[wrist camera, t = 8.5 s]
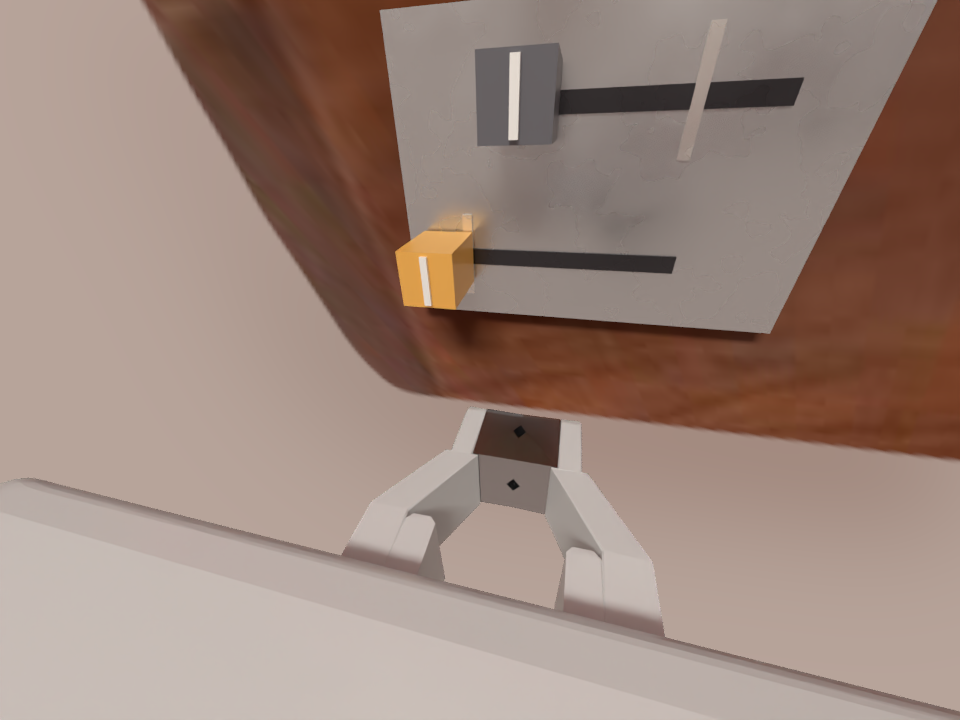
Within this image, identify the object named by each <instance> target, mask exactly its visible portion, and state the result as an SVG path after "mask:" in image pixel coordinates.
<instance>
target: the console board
mask: <svg viewBox="0 0 960 720" xmlns="http://www.w3.org/2000/svg"><path fill="white" fill-rule="evenodd" d="M936 2H937V0H471V1H461V2H452V3H443V4H434V5H424V6H415V7H406V8H397V9H387V10H380V15H381V22H382V30H383V37H384V44H385V52H386V59H387V66H388V74H389V81H390V89H391V96H392V103H393V111H394V118H395V126H396V133H397V140H398V148H399V155H400V162H401V170H402V177H403V185H404V192H405V199H406V207H407V214H408V221H409V229H410V236H411V240H412V239H414V238H415V237H417V236H418V235H419V234H421V233H422V232H424V231H446V232H472V234H473V260H474V282H473V284H472V285H471V287H470V288H469V290H468V291H467V293H466V295H465V296H464V298H463V299H462V301H461V302H460V304H459V305H458V307H457V308H456V310H469V311H482V312H495V313H508V314H521V315H534V316H547V317H560V318H573V319H586V320H599V321H612V322H625V323H638V324H651V325H664V326H677V327H690V328H704V329H717V330H730V331H743V332H756V333H769V334H770V332H771V330H772V328H773V326H774V324H775V322H776V320H777V318H778V316H779V314H780V312H781V310H782V308H783V306H784V304H785V302H786V300H787V298H788V296H789V294H790V292H791V290H792V288H793V286H794V284H795V282H796V280H797V278H798V276H799V274H800V272H801V270H802V268H803V266H804V264H805V262H806V260H807V258H808V256H809V254H810V252H811V250H812V248H813V246H814V244H815V242H816V240H817V238H818V236H819V234H820V232H821V230H822V228H823V226H824V224H825V223H826V221H827V219H828V217H829V215H830V213H831V211H832V209H833V207H834V205H835V203H836V201H837V199H838V197H839V195H840V193H841V191H842V189H843V187H844V185H845V183H846V181H847V179H848V177H849V175H850V173H851V171H852V169H853V167H854V165H855V163H856V161H857V159H858V157H859V155H860V153H861V151H862V149H863V147H864V145H865V143H866V141H867V139H868V137H869V135H870V133H871V131H872V129H873V127H874V125H875V123H876V121H877V119H878V117H879V115H880V113H881V111H882V109H883V107H884V105H885V103H886V101H887V99H888V97H889V95H890V93H891V91H892V89H893V87H894V85H895V83H896V81H897V79H898V77H899V75H900V73H901V71H902V69H903V67H904V65H905V64H906V62H907V60H908V58H909V56H910V54H911V52H912V50H913V48H914V46H915V44H916V42H917V40H918V38H919V36H920V34H921V32H922V30H923V28H924V26H925V24H926V22H927V20H928V18H929V16H930V14H931V12H932V10H933V8H934V6H935V4H936ZM547 43H559V44H560V49H561V54H562V58H563V66H562V78H561V91H560V103H559V115H558V128H557V140H556V141H555V142H554V143H553V144H552V145H510V146H477V114H476V77H475V49H484V48H497V47H509V46H522V45H535V44H547Z"/></svg>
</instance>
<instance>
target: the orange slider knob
mask: <svg viewBox="0 0 960 720" xmlns="http://www.w3.org/2000/svg"><path fill="white" fill-rule="evenodd" d="M395 253H396V259H397V265H398V271H399V277H400V284H401V290H402V296H403V302H404V306H415V307H428V308H441V309H454V310H456V308H457V307H458V305H459V304H460V302H461V301H462V299H463V298H464V296H465V295H466V293H467V291H468V290H469V288H470V287H471V285H472V284H473V282H474V260H473V234H472V232H446V231H424V232H422V233H421V234H419V235H418V236H417V237H415V238H414V239H412V240H411V241H410V242H408V243H407V244H405V245H404V246H402V247H401V248H400V249H398V250H397V251H395Z"/></svg>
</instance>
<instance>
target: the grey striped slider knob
mask: <svg viewBox="0 0 960 720" xmlns="http://www.w3.org/2000/svg"><path fill="white" fill-rule="evenodd" d="M562 66H563V58H562V54H561V49H560V44H559V43H547V44H535V45H522V46H509V47H497V48H484V49H475V77H476V114H477V146H510V145H552V144H553V143H554V142H555V141H556V140H557V128H558V115H559V103H560V91H561V78H562Z"/></svg>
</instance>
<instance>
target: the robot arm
mask: <svg viewBox="0 0 960 720" xmlns="http://www.w3.org/2000/svg"><path fill="white" fill-rule="evenodd" d="M480 502H486V503H492V504H498V505H504V506H510V507H515V508H519V509H524V510H528V511H532V512H537V513H541V514H545V517H546V519H547V522H548V523H549V526H550V528H551V530H552V533H553V535H554V537H555V539H556V541H557V544H558V546H559V548H560V550H561V552H562V555H563V557H564V559H565V560H564V565H563V569H562V574H561V579H560V583H559V588H558V593H557V597H556V602H555V609H551V608H547V607H543V606H539V605H535V604H531V603H527V602H523V601H519V600H515V599H511V598H507V597H503V596H499V595H495V594H491V593H488V592H484V591H480V590H476V589H472V588H468V587H464V586H460V585H456V584H452V583H448V582H444V579H445V575H444V570H443V565H442V558H441V553H440V547H439V546H440V545H441V544H442V543H443V542H444V541H445V540H446V539H447V538H448V537H449V536H450V535H451V533H452V532H453V531H454V530H455V529H456V528H457V527H458V526H459V525H460V524H461V523H462V522H463V521H464V520H465V519H466V518H467V517H468V516H469V515H470V514H471V513H472V512H473V511H474V510H475V509H476V508H477V507H478V506H479V504H480ZM0 720H960V712H959V711H955V710H951V709H947V708H943V707H939V706H935V705H931V704H928V703H923V702H920V701H915V700H911V699H908V698H904V697H900V696H896V695H892V694H887V693H884V692H880V691H876V690H872V689H868V688H864V687H860V686H855V685H852V684H848V683H844V682H840V681H836V680H832V679H828V678H824V677H820V676H816V675H812V674H808V673H804V672H800V671H796V670H792V669H788V668H784V667H780V666H777V665H773V664H769V663H764V662H760V661H756V660H753V659H749V658H745V657H741V656H737V655H732V654H729V653H725V652H721V651H717V650H713V649H708V648H705V647H701V646H697V645H693V644H689V643H685V642H681V641H677V640H674V639H670V638H666V637H665V635H664V629H663V622H662V616H661V610H660V604H659V598H658V592H657V586H656V579H655V573H654V567H653V562H652V561H651V559H650V558H649V557H648V555H647V554H646V552H645V551H644V550H643V548H642V547H641V546H640V544H639V543H638V542H637V540H636V539H635V537H634V536H633V535H632V533H631V532H630V531H629V529H628V528H627V527H626V525H625V524H624V522H623V521H622V520H621V518H620V517H619V515H618V514H617V513H616V512H615V510H614V509H613V507H612V506H611V504H610V503H609V502H608V500H607V499H606V497H605V496H604V495H603V493H602V492H601V491H600V489H599V488H598V487H597V485H596V484H595V482H594V481H593V480H592V478H591V477H590V476H589V474H587V473H582V424H581V422H578V421H570V420H560V419H553V418H546V417H537V416H530V415H522V414H515V413H509V412H503V411H497V410H491V409H482V408H477V407H469V409H468V410H467V411H466V414H465V417H464V419H463V422H462V424H461V427H460V429H459V432H458V434H457V437H456V440H455V442H454V445H453V447H452V449H451V450H445V451H443V452H442V453H440V454H439V455H437V456H436V457H434V458H433V459H432V460H430V461H429V462H427V463H426V464H424V465H423V466H422V467H420V468H419V469H417V470H416V471H414V472H413V473H412V474H410V475H409V476H407V477H406V478H404V479H403V480H402V481H400V482H399V483H397V484H396V485H394V486H393V487H392V488H390V489H389V490H387V491H386V492H384V493H383V494H381V495H380V496H379V497H377V498H376V499H374V500H373V501H372V502H371V503H370V505H369V506H368V508H367V510H366V512H365V513H364V515H363V517H362V519H361V521H360V522H359V524H358V526H357V528H356V530H355V531H354V533H353V535H352V537H351V539H350V540H349V542H348V544H347V546H346V547H345V550H344V551H343V553H342V555H337V554H332V553H329V552H325V551H321V550H317V549H313V548H309V547H305V546H301V545H296V544H293V543H289V542H285V541H280V540H277V539H273V538H269V537H265V536H261V535H257V534H253V533H249V532H245V531H241V530H237V529H233V528H229V527H225V526H222V525H217V524H214V523H209V522H205V521H201V520H198V519H194V518H190V517H185V516H182V515H178V514H174V513H170V512H166V511H162V510H158V509H154V508H150V507H146V506H142V505H138V504H134V503H130V502H126V501H122V500H118V499H114V498H110V497H106V496H102V495H98V494H95V493H91V492H87V491H83V490H79V489H75V488H71V487H66V486H63V485H59V484H55V483H52V482H48V481H44V480H39V479H33V478H21V479H14V480H11V481H8V482H4V483H1V484H0Z"/></svg>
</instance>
